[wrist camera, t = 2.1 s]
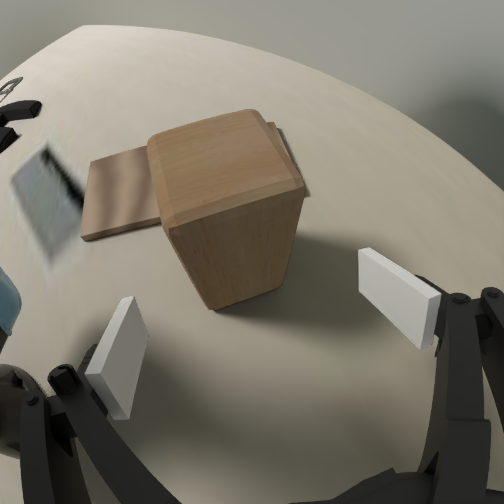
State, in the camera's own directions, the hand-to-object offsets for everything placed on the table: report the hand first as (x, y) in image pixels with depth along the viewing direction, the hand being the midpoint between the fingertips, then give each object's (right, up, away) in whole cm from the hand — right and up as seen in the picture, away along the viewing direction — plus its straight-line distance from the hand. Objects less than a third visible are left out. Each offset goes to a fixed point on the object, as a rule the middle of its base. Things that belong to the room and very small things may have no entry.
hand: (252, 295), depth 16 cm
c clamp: (-108, +73, +59) cm, 143 cm away
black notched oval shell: (-83, +42, +43) cm, 102 cm away
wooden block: (-2, 0, +22) cm, 22 cm away
